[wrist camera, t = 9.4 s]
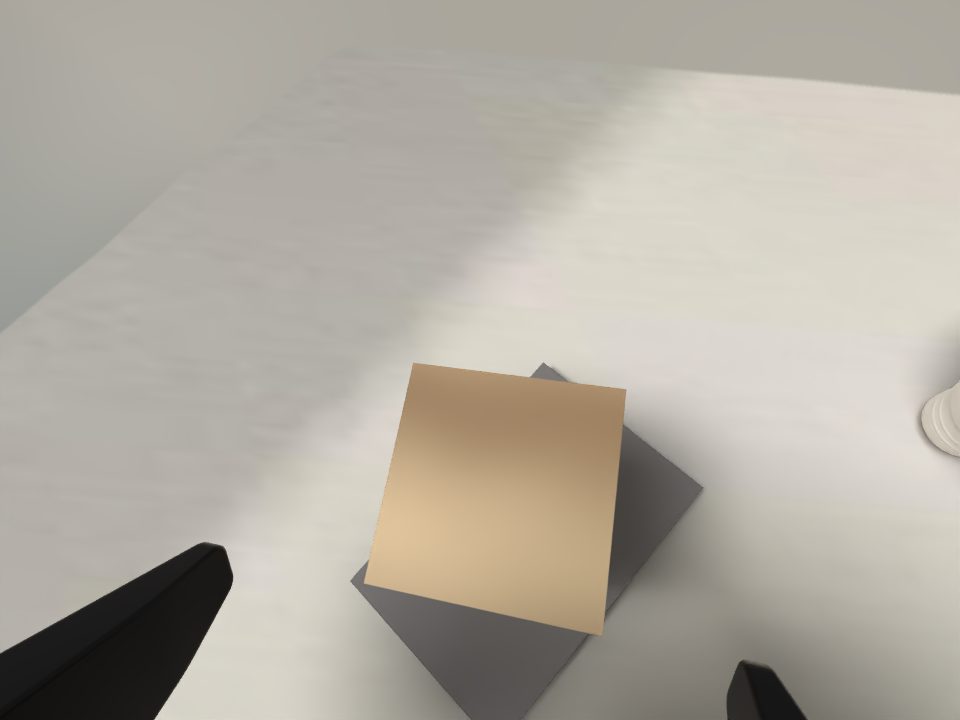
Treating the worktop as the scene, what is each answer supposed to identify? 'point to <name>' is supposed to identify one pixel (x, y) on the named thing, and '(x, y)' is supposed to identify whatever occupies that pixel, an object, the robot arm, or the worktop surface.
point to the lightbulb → (944, 420)
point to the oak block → (502, 495)
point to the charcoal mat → (524, 643)
